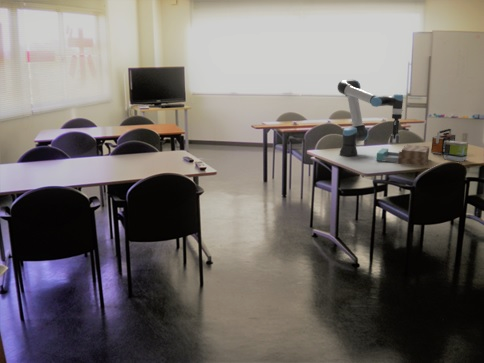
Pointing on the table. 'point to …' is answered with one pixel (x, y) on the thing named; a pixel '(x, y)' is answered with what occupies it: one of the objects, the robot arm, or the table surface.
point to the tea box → (455, 150)
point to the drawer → (387, 156)
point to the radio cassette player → (441, 141)
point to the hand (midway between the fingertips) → (394, 142)
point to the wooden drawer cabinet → (414, 155)
